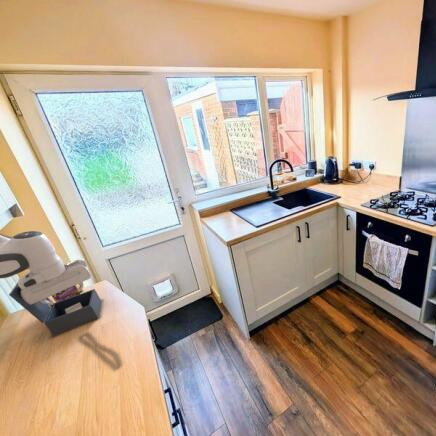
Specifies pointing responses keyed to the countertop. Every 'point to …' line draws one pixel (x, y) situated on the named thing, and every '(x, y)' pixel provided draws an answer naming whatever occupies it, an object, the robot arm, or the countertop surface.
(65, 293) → the candy box
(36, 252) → the robot arm
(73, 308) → the block
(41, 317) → the lid
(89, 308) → the chest
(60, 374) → the countertop surface
